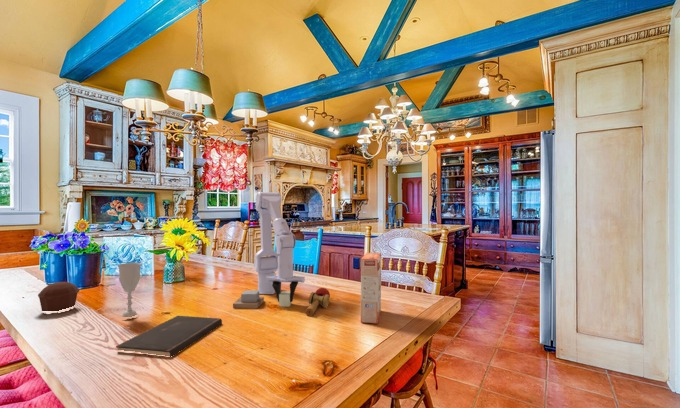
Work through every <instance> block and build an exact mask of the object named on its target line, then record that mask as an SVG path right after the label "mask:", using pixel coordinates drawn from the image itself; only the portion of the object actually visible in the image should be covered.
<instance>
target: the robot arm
mask: <svg viewBox="0 0 680 408" xmlns="http://www.w3.org/2000/svg"><path fill="white" fill-rule="evenodd" d="M282 200H283V199H282V194H281V193H280V192H278V191H275V192H272V191H265V192H264V191H258V192H257V193H256V196H255V210H256V212H259V218H260V219H259V221H260V222H259V223H260V225H259V226H260V250H258V251H257V252H256V253H255V254H254V260H253V267H254V271H255V272H257V290H259V295H274V294H275V295H276V299H277V303H279V294H280V293H281V292H282V290H281V289H282V283H289V292H290V302H292V303H293V301H294V295H295V291H296V289H297V286H298V285H299V283H301V284H304V283H305V281H306V280H305V276H301V275H294V249H295V247H296V243H297V242H296V236H295V234H294V233H293V232H292V231H290V228H289V225H288V222H287V220H286V219H285V218H283V215H282V211H281V204H282ZM272 220H273V222H272ZM272 228H273V230H272ZM272 231H273V232H274V235H275V242H274V243H275V248H276V251H275V250H274V249H273V235H272V233H273V232H272ZM276 272H277V273H276Z"/></svg>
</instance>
